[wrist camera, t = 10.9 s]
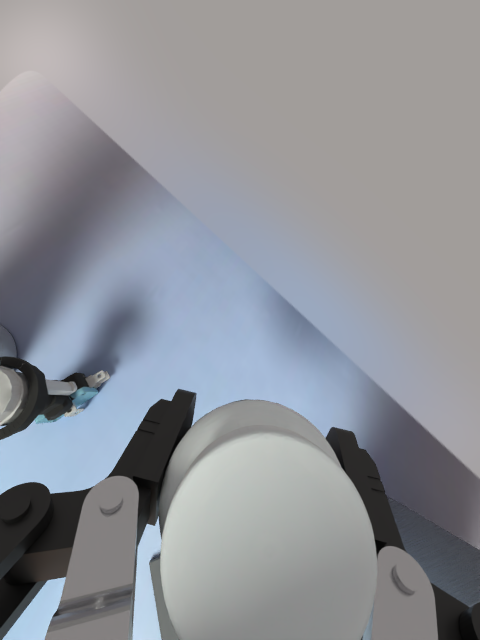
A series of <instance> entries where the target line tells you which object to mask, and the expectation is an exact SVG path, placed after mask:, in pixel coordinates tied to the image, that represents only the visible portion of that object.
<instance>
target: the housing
mask: <svg viewBox="0 0 480 640" xmlns="http://www.w3.org/2000/svg"><path fill="white" fill-rule="evenodd" d="M388 502H389V505H390V508H391V510H392V513H393V516H394V519H395V522H396V525H397V528H398V531H399V534H400V536H401V539H402V542H403V545H404V547H405V550H406V552H407V553H408V554H409V555H410V556H411V557H413V558H414V559H415V560H416V561H417V563H418V564H419V565H420V566H421V568H422V569H423V570H424V572H425V573H426V575H427V577H428V579H429V581H430V582H431V583H433V584H434V585H435V586H437V587H438V588H440V589H441V590H443V591H445V592H446V593H448V594H449V595H451V596H453V597H454V598H456V599H457V600H459V601H461V602H462V603H464V604H465V605H467V606H469V607H472V606H473V605H475V604H476V603H479V602H480V550H478V549H476V548H475V547H473V546H471V545H470V544H468V543H466V542H464V541H463V540H461V539H459V538H458V537H456V536H454V535H453V534H451V533H449V532H448V531H446V530H444V529H442V528H441V527H439V526H437V525H436V524H434V523H432V522H431V521H429V520H427V519H425V518H424V517H422V516H420V515H419V514H417V513H415V512H414V511H412V510H410V509H409V508H407V507H405V506H403V505H402V504H400V503H398V502H397V501H395V500H393V499H392V498H390V499H388Z"/></svg>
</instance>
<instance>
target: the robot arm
mask: <svg viewBox="0 0 480 640" xmlns="http://www.w3.org/2000/svg"><path fill="white" fill-rule="evenodd" d="M4 356H7V357H15V358H16V357H17V350H16V345H15V342H14V339H13V337H12V335H11V334H10V333H9V332H8V331H7V330H6V329H5V328H4V327H2V326H1V325H0V357H4ZM12 370H14V369H12ZM195 401H196V393H194V392H190V391H185V390H181V389H178V390H177V391H176V393H175V395H174V397H173V399H172V401H168V400H164V399H161V400H159V401H158V402H157V403H155V404H154V405H153V406H152V407H150V409H149V410H148V412H147V414H146V416H145V417H144V419H143V421H142V422H141V424H140V426H139V427H138V430H137V431H136V432H135V434H134V436H133V437H132V439H131V441H130V442H129V444H128V446H127V447H126V449H125V451H124V452H123V454H122V456H121V457H120V459H119V461H118V462H117V464H116V466H115V467H114V469H113V471H112V472H111V473H110V474H109V476H108V477H107V478H105V479H104V480H102V481H101V482H99V483H98V484H96V485H95V486H93V487H91V488H89V489H86V490H81V491H74V492H64V493H54V494H50V492H49V489H48V488H47V487H46V486H45V485H43V484H41V483H36V482H29V483H24V484H20V485H17V486H15V487H13V488H11V489H9V490H7V491H5V492H4V493H2V494H1V495H0V640H2V639H3V638H4V636H5V635H6V634H7V632H8V631H9V630H10V628H11V627H12V626H13V625H14V623H15V622H16V621H17V619H18V618H19V617H20V615H21V614H22V613H23V612H24V610H25V609H26V608H27V606H28V605H29V604H30V602H31V601H32V600H33V599H34V597H35V596H36V595H37V593H38V592H39V591H40V589H41V588H42V587H43V586H44V584H45V583H46V582H47V580H51V579H57V578H63V577H66V580H65V584H64V588H63V593H62V597H61V601H60V604H59V607H58V609H57V611H56V612H55V614H54V615H53V617H52V619H51V622H50V625H49V627H48V630H47V634H46V637H45V640H132V633H133V616H134V600H135V583H136V567H137V551H138V545H139V542H140V540H141V537H142V534H143V532H144V529H145V527H146V524H150V525H154V526H155V524H156V521H157V519H158V516H159V500H160V492H161V487H162V482H163V478H164V474H165V471H166V468H167V466H168V463H169V461H170V458H171V456H172V454H173V453H174V451H175V448H176V447H177V445H178V444H179V442H180V441H181V440H182V438H183V437H184V436H185V434H186V433H187V431H188V430H189V429H190V428H191V425H192V421H193V415H194V408H195ZM326 440H327V441H328V443H329V445H330V446H331V448H332V449H333V451H334V452H335V455H336V457H337V459H338V461H339V463H340V465H341V468H342V469H343V470H344V471H345V473H346V474H347V475H348V477H349V478H350V480H351V481H352V482H353V484H354V486H355V487H356V489H357V491H358V493H359V495H360V497H361V499H362V501H363V503H364V505H365V508H366V510H367V513H368V516H369V519H370V522H371V525H372V529H373V533H374V539H375V545H376V554H377V586H376V592H375V597H374V603H373V608H372V611H371V615H370V618H369V622H368V624H367V627H366V629H365V631H364V634H363V636H362V638H361V640H480V602H479V603H476V604H475V605H473V606H472V607H469V606H467V605H465V604H464V603H462V602H461V601H459V600H457V599H456V598H454V597H453V596H451V595H449V594H448V593H446V592H445V591H443V590H441V589H440V588H438V587H437V586H435V585H434V584H433V583H431V582H430V581H429V579H428V577H427V575H426V573H425V572H424V570H423V569H422V568H421V566H420V565H419V564H418V563H417V561H416V560H415V559H414V558H413V557H411V556H410V555H409V554H408V553H407V552H406V550H405V547H404V545H403V542H402V539H401V536H400V534H399V531H398V528H397V525H396V522H395V519H394V516H393V513H392V510H391V508H390V505H389V502H388V499H387V496H386V495H385V490H384V487H383V484H382V482H381V481H380V476H379V473H378V470H377V467H376V464H375V463H374V461H373V460H372V458H371V457H370V456H369V454H368V453H367V451H366V450H364V449H360V448H359V447H358V444H357V440H356V437H355V435H354V433H353V432H351V431H347V430H343V429H339V428H335V427H332V428H331V429H330V431H329V433H328V435H327V437H326Z"/></svg>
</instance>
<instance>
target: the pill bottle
mask: <svg viewBox="0 0 480 640" xmlns="http://www.w3.org/2000/svg"><path fill="white" fill-rule="evenodd" d="M159 525H160V533H161V539H162V543H161V554H160V571H161V581H162V588H163V594H164V599H165V603H166V607H167V610H168V613H169V617H170V620H171V622H172V625H173V627H174V630H175V632H176V634H177V636H178V637H179V639H180V640H361V638H362V636H363V634H364V631H365V629H366V627H367V624H368V622H369V618H370V615H371V611H372V608H373V603H374V597H375V592H376V586H377V554H376V545H375V539H374V533H373V529H372V525H371V522H370V519H369V516H368V513H367V510H366V508H365V505H364V503H363V501H362V499H361V497H360V495H359V493H358V491H357V489H356V487H355V486H354V484H353V482H352V481H351V480H350V478H349V477H348V475H347V474H346V473H345V471H344V470H343V469H342V468H341V465H340V463H339V461H338V459H337V457H336V455H335V452H334V451H333V449H332V448H331V446H330V445H329V443H328V441H327V440H326V439H325V437H324V436H323V435H322V434H321V432H320V431H319V430H318V429H317V428H316V427H315V426H314V425H313V424H312V423H310V422H309V421H308V420H307V419H306V418H304V417H303V416H302V415H300V414H299V413H297V412H295V411H293V410H292V409H289V408H287V407H285V406H283V405H280V404H278V403H273V402H269V401H264V400H240V401H235V402H232V403H229V404H226V405H223V406H221V407H218V408H216V409H214V410H212V411H211V412H209V413H208V414H206V415H205V416H203V417H202V418H200V419H199V420H198V421H197V422H196V423H195V424H194V425H193V426H192V427H191V428H190V429H189V430H188V431H187V433H186V434H185V436H184V437H183V438H182V440H181V441H180V442H179V444H178V445H177V447H176V448H175V451H174V453H173V454H172V456H171V458H170V461H169V463H168V466H167V468H166V471H165V474H164V478H163V482H162V487H161V492H160V500H159Z"/></svg>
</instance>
